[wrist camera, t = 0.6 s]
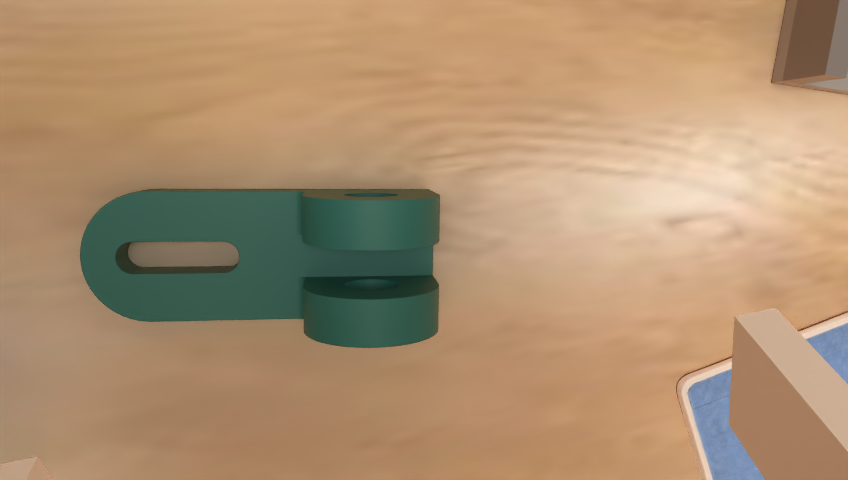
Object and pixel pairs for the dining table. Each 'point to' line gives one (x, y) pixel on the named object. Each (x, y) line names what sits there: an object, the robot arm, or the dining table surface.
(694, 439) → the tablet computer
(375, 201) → the bracket
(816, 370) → the robot arm
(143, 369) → the dining table surface
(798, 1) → the cup holder
